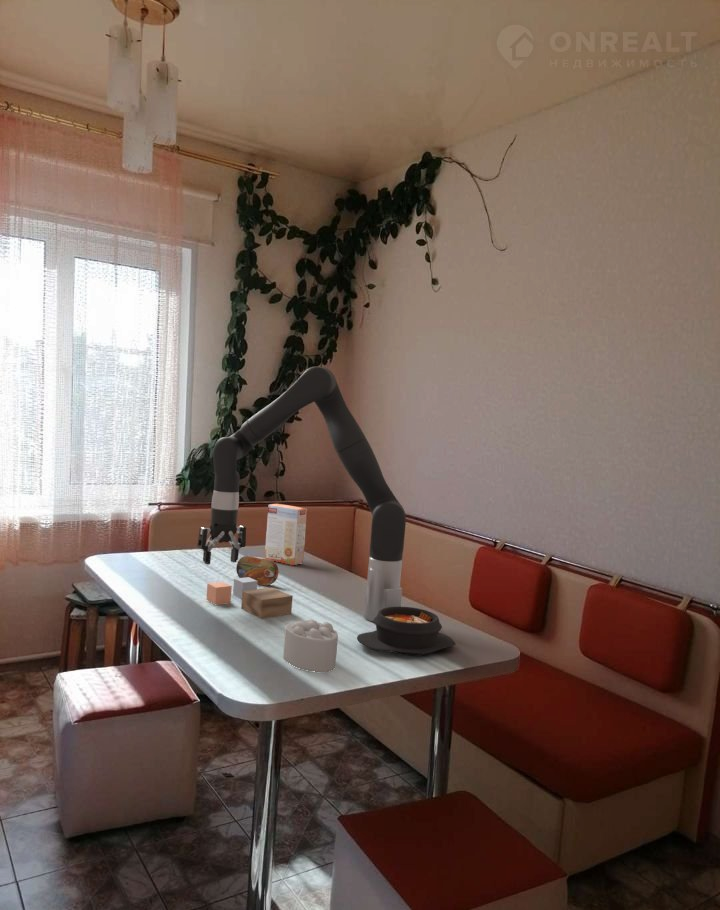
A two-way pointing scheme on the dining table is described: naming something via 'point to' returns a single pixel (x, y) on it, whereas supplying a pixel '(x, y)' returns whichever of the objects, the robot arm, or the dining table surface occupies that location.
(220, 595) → the terracotta cube
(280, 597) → the walnut block
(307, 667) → the lumpy-topped squat cylinder
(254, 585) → the grey-blue cube
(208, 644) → the dining table surface
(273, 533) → the cracker box
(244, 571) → the tin
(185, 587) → the dining table surface
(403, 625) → the casserole
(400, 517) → the robot arm
